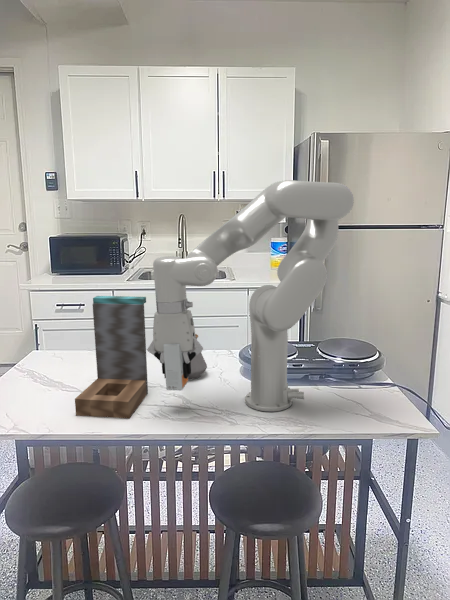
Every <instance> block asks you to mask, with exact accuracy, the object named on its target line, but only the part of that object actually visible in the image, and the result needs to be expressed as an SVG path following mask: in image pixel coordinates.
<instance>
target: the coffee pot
mask: <svg viewBox="0 0 450 600" xmlns="http://www.w3.org/2000/svg"><path fill="white" fill-rule="evenodd" d="M195 336H196V339H197V340H198V338H199V334H197V333H195ZM195 349H196V348H195V347H194V346H193V349H192V350H191V351H190V353H191V352H192V351H194V350H195ZM207 369H208V364H207V363H206V360H205V358H204V356H203V354H202V352H200V353H199V354H197V355H196V356H195V357H194V358H193V359H192V360H191V374H189V376H188V381H189V380H196V379H199V378H200V377H202V375H204V373H205V372H206V370H207Z"/></svg>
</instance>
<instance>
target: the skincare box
mask: <svg viewBox="0 0 450 600" xmlns="http://www.w3.org/2000/svg"><path fill="white" fill-rule="evenodd" d="M163 349H164V362H165V376H166V378H165V385H166V387H165V388H166V391H179V392H180V391H183V389H184V388H185V387H186V385H187V384H188V383H189V380H188V378H184V370H183V364H184V357H183V354H182V352H181V348H180V344H164V345H163ZM165 376H164V377H165Z"/></svg>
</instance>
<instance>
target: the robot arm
mask: <svg viewBox="0 0 450 600" xmlns="http://www.w3.org/2000/svg"><path fill="white" fill-rule="evenodd" d="M354 198H355V197H354V194H353V192H352V191H351V189H350V188H349V187H348V186H347V185H345V184H343V183H341V182H331V181H330V182H329V181H328V182H327V181H325V182H324V181H309V180H308V181H306V180H294V179H293V180H292V179H291V180H290V179H286V180H281V181H275V182H273V183H271V184H270V185H267V187H265V189H263V190H262V191H261V192H260V193H259V194H257V195H256V196H255V197H254V198H252V200H251V201H250V202H249V203H247V205H245V206H244V207H243V208H242V209H240V210H239V211H238V212H237V213H236V214H235V215H233V216H232V217H231V218H230V219H228V221H226V222H225V223H224V224H223V225H222V226H219V228H218V229H216V230H215V231H213V233H211V234H209V236H207V237H206V238H205V239H204V240H203V241H202V242H201V243H199V244H198V245H197V246H196V247H195V248H194V249H193V250H192V251H190V252H189V253H188V254H187V256H186V257H185V258H182V257H180V256H174V255H171V256H169V255H168V256H161V257H157V258H155V259H154V260H153V264H152V265H153V267H152V268H153V280H154V291H155V294H154V295H155V303H156V304H155V305H156V311H154V316H153V325H152V326H153V330H152V335H153V336H152V337H153V339H152V341H151V343H150V344H149V345H148V347H147V348H146V352H149V354H152V355H153V357H155V358H156V359H157V360H158V361H159V363H160V364H161V371H162V372H161V373H162V374H163V375H164V379H166V376H165V362H164V349H163V345H164V344H180V348H181V352H182V354H183V357H184V364H183V370H184V378H188V376H189V374H191V360H192V359H193V358H194V357H195V356H196V355H197V354H199V353H200V352H201V353H202V351H203V350H204V347H203V346H202V344H201V343H200V342H199V341H198V338H197V339H196V336H195V334H196V330H195V323H194V319H193V314H192V311H191V310H190V308H193V306H194V303H193V302H194V301H190V300H188V298H187V288H186V287H187V286H190V287H207V286H209V285H211V284H212V283H213V282H215V280H216V278H217V277H218V273H219V272H218V271H219V269H218V266H219V265H220V264H222V262H224V261H226V260H227V258H229V257H231V256H233V255H234V254H236V253H237V252H239V251H243V250H245V249H248V248H250V247H252V246H254V245H256V244H258V242H259V241H260V240H261V239H262V238H264V237H265V235H266V234H268V233H269V232H271V230H273V228H275V227H276V226H277V225H278V224H280V222H282V221H283V220H284V219H285V218H293V219H306V224H305V228H304V230H303V232H302V234H301V235H300V237H298V239H297V240H296V242H295V243H294V244H293V246H292V247H291V249H290V250H288V251H287V253H286V255H284V257H283V258H282V260H281V261H280V263H279V265H278V266H277V273H276V274H277V278H278V280H279V283H278V285H277V286H275V285H272V284H271V285H270V284H266V285H261V286H260V287H258V288H256V289H255V290H254V291H253V293H252V294H251V296H250V299H249V303H248V306H249V309H248V311H249V319H250V320H249V322H250V335H251V336H250V340H251V341H250V342H251V343H250V392H248V393H246V394H245V397H244V401H245V404H246V405H247V406H248V407H249V408H251V409H253V410H257V411H260V412H280V411H283V410H287V409H288V408H290V407H291V406H292V404H293V399H297V400H304V399H305V392H304V391H300V388H291V387H289V384H288V383H289V382H288V379H287V378H288V347H289V346H288V344H289V343H288V341H289V338H288V337H289V336H288V330H290V329H292V328H293V327H294V326H295V325H296V324H297V323H298V322H299V321H300V320H301V318H303V316H304V315H305V314H306V313H307V311H308V309H309V308H311V306H312V304H313V303H314V302H315V300H316V299H317V298H318V297H319V295H320V294H321V292H322V291H323V290H324V288H325V285H326V283H327V280H328V271H327V267H326V265H325V263H324V262H325V260H326V259H327V257H328V256H329V254H330V253H331V251H332V250H333V248H334V247H335V245H336V243H337V240H338V235H339V220H340V219H343V218H345V217H346V216H347V215H349V213H350V212H351V210H352V209H353V206H354V203H355V199H354ZM193 346H194V347H195V348H196V349H195V350H194V351H192V352H191V353H190V351H191V350H192V349H193Z"/></svg>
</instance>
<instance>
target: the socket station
mask: <svg viewBox="0 0 450 600" xmlns="http://www.w3.org/2000/svg"><path fill="white" fill-rule="evenodd" d="M146 303H147V296H129V295H128V296H125V295H122V296H121V295H120V296H118V295H116V296H115V295H96V296H94V297H93V298H92V315H93V316H92V317H93V331H94V345H95V358H96V359H95V360H96V361H95V362H96V374H97V379H95V380H94V381H93V382H92V383H91V384H90V385H88V386H87V387H86V388H85V389H84V390H83V391H81V393H79V395H78V396H76V397H75V398H74V404H75V405H74V407H75V416H79V417H94V418H95V417H97V418H111V419H113V418H114V419H130V418H131V417H132V415H133V414H134V413H135V411H136V410H137V409H138V408H139V406H140V405H141V404H142V402H143V401H144V400H145V398H146V397H147V396H148V394H149V386H148V366H147V365H148V363H147V345H146V344H147V342H146V341H147V340H146V322H145V321H146V319H145V304H146Z"/></svg>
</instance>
